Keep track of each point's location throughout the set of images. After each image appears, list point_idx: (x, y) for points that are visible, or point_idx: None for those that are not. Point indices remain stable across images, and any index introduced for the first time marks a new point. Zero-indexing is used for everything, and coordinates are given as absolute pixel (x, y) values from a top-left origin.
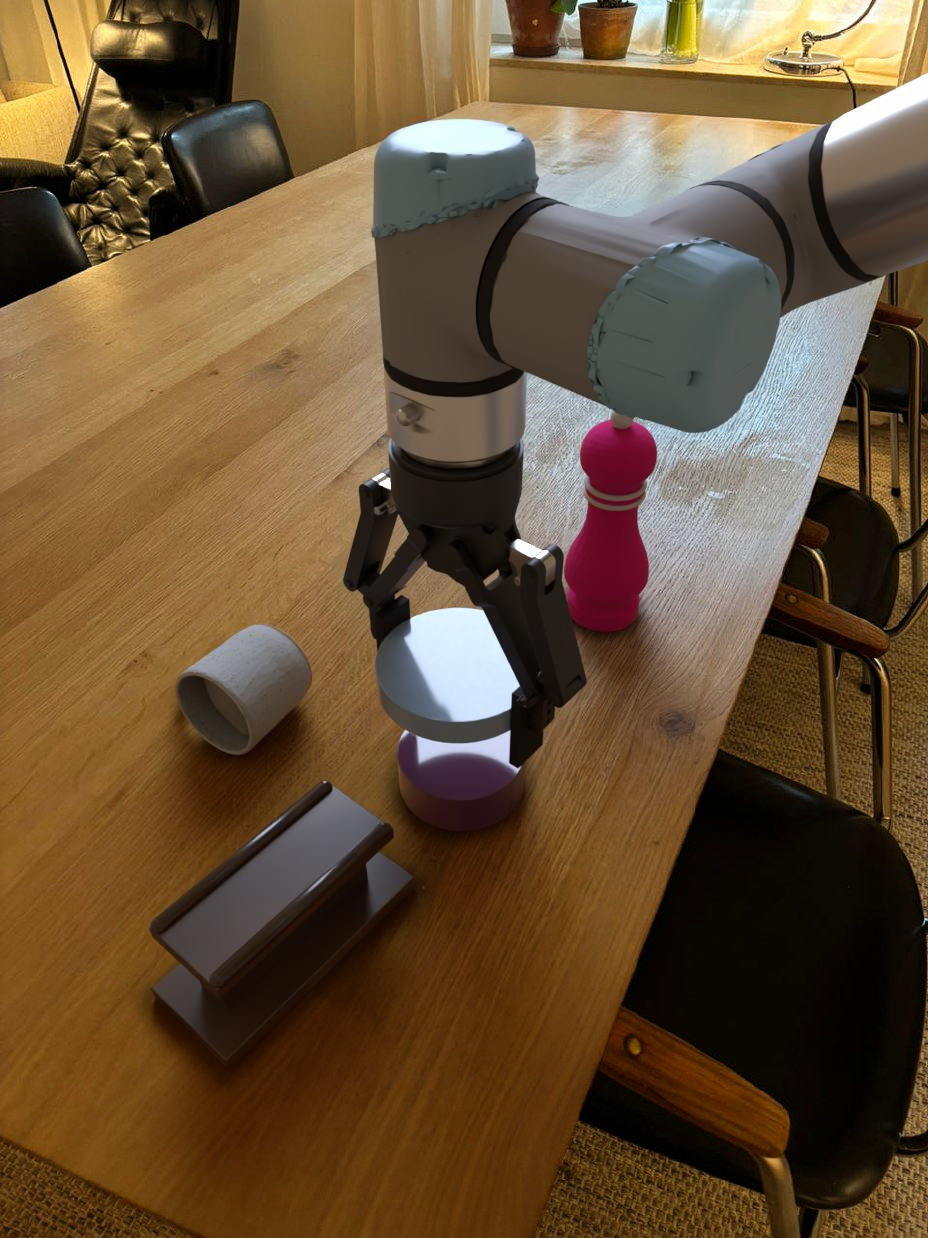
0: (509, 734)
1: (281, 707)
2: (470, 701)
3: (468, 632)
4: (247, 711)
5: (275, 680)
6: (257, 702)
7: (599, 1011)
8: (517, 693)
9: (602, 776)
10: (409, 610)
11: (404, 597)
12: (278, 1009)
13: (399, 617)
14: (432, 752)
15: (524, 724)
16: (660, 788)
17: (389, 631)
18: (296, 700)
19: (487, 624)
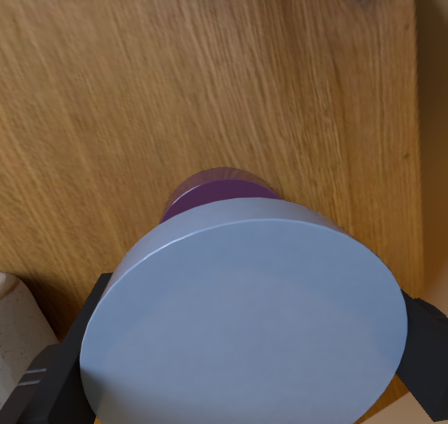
0: (255, 197)
1: (40, 340)
2: (331, 403)
3: (209, 313)
4: None
5: (7, 366)
6: None
7: (419, 292)
8: (443, 416)
9: (328, 124)
10: (66, 383)
11: (31, 421)
12: None
13: (74, 408)
14: None
15: None
16: (386, 93)
17: (89, 410)
18: (33, 311)
19: (223, 270)
